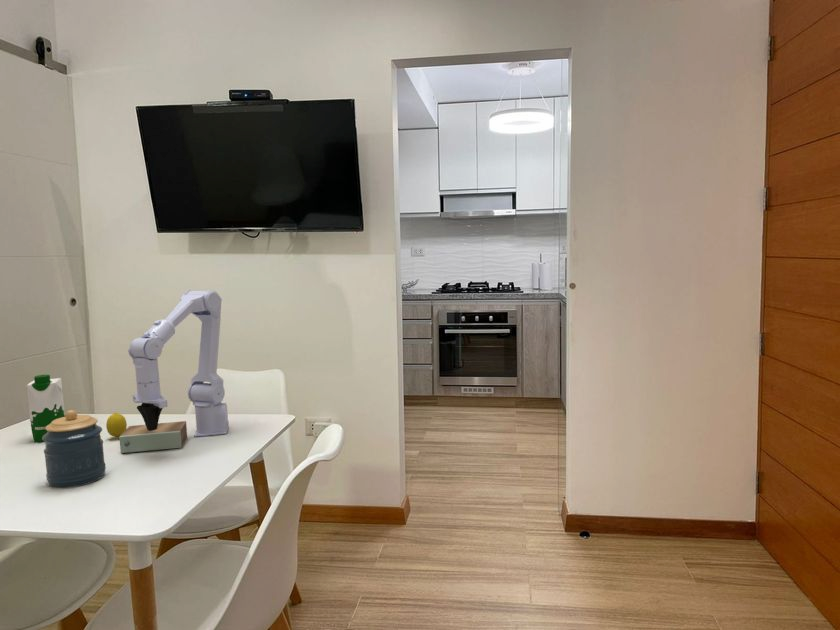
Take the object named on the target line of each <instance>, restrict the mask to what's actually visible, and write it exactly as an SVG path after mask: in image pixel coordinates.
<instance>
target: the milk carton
mask: <svg viewBox="0 0 840 630" xmlns="http://www.w3.org/2000/svg"><path fill="white" fill-rule="evenodd" d="M33 378H34V379H33V381H30V382H29V383H28V384H26V391H27V392H26V393H27V400H28V403H27V404H28V411H29V419H30V428H31V434H32V439H33V443H35V444H36V443H45V441H43V440H42V437H43V436H44V435H45V434H46V433H47V432H48V431H47V430H46V429H45V427H46V426H47V425H49V424H50V423H51V422H52V421H53V420H56V419H58V418H62V417H65V413H66V411H65V410H66V409H65V401H64V393H63V390H64V389H63V383H62V382H63V381H62V378H61V377H59V378H51V375H50V374H39V375H35V376H34V377H33Z"/></svg>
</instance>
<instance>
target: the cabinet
mask: <svg viewBox="0 0 840 630" xmlns="http://www.w3.org/2000/svg"><path fill="white" fill-rule="evenodd" d="M187 429H188V428H187V421H186V420H183V421H172V422H161V423H159V422H158V426H157V429H156V430H152V431H148V430H147V427H146V425H145V424H140V425H139V424H137V425H129V426H127V428H126V430H125V431H124V432H123V433H122V435H121V436H126V435H137V434H149V433H160V432H172V431H181V444H182V447H183V446H184V444H185V443H186V440H187V438H188V430H187ZM159 450H161V449H159ZM149 451H150V452H151V450H148V451H147V452H149ZM137 452H138V453H139V452H140V451H137ZM137 452H136V453H137ZM128 453H130V452H126V453H125V454H128Z"/></svg>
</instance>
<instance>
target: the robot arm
mask: <svg viewBox="0 0 840 630" xmlns="http://www.w3.org/2000/svg"><path fill="white" fill-rule="evenodd" d="M179 299H180V300H179V302H178V304H176V305H175V307H174V309H172V310H171V312H170V313H169V314H168V315H167V317H165V319H163V318H162V319H157V320H155V321H153V324H152V326H150V328H149V329H148V330H146V331H145V332H144V333H142V336H141V337H136V338H135V339H133V341H132V342H131V343H130V345H129V349H128V350H127V351H128V354H129V356H130V357H131V359H132V364H133V365H134V368H135V378H136V379H135V380H136V382H135V383H136V391H137V393H135V394H134V393H133V394H132V401H133V403H135V404H140V403H141V405H138V406H136V409H137V411H138V412H139V413H140V415H141V417H142V419H143V421H144V425H146V427H147V430H148V431H152V430H156V429H157V426H158V424H159V422H160V421H159V420H160V417H161V413H162V410H163V409H164V408H167V407H169V405H168V399H165V398H164V397H163V396H162V395H161V394H162V393H161V385H160V383H161V382H160V381H161V380H160V372H159V361H158V358H159V357H160V356H161V354H162V352H163V348H164V346H165V344H167V342H168V341H169V340H170V339H171V338H172V337H173V336H174V335H175V333H176V327H177V326H178V325H179V324H180V323H182V322H183V321H184V320H186V318H187V317H188V316H190V314H192V315H194V316H195V317H197V318H198V319H199V320H200V322H201V330H200V342H199V343H200V344H199V356H198V370H197V373H196V374H195V375H193V377H191V378H190V385H189V387H188V390H187V397H188V399H189V401H190V402H192V405H193V406H194V410H195V411H194V412H195V424H196V425H195V426H196V429H195V432H194V434H193V436H194V437H197V438H198V437H208V436H215V435H216V436H217V435H225V434H228V431H229V426H230V423H229V422H230V421H229V417H228V416H229V415H228V414H229V413H228V405H227V403H226V402H222V401H223V400H224V397H225V392H226V391H225V387H224V379H223V378H222V377H221V376H220V375H219V374H218V373H217V372H218V371H217V370H218V358H219V357H218V356H219V346H220V345H219V344H220V343H219V342H220V332H221V331H220V330H221V321H222V320H221V319H222V318H221V313H222V312H221V311H222V301H223V300H222V298H221V296H220V295H219V293H218V292H217V291H216V290H214V289H213V290H212V289H211V290H186V291H185V293H184V294H183V295H181V296H180V298H179Z"/></svg>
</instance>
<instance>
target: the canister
mask: <svg viewBox="0 0 840 630" xmlns="http://www.w3.org/2000/svg"><path fill="white" fill-rule="evenodd" d="M97 423H98V419H97V418H95V417H94V416H93V417H92V415H89V414H78V413H77V411H76V410H74V409H69V410H67V411H65V417H62V418H58V419H56V420H53V421H52V422H51V423H50V424H49V425H47V426H46V427H45V429H46V430H47V431H48V432H47V433H46V434H45V435H44V436H43V437H42V440H43V441H45V442H44V443H45V444H44V445H45V448H44V449H43V453H44V460H45V469H46V474H45V477H46V481H47V484H48V486H49V487H51V488H58V489H59V488H61V489H62V488H63V489H66V488H74V487H79V486H84V485H87V484H91V483H93V482H96V481H98V480H100V479H102V478H103V477H104V476H105V475H106V468H107V467H106V463H105V454H104V440H103V438H102V436H101V432H103V428H102V427H101V426H100V425H97Z"/></svg>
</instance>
